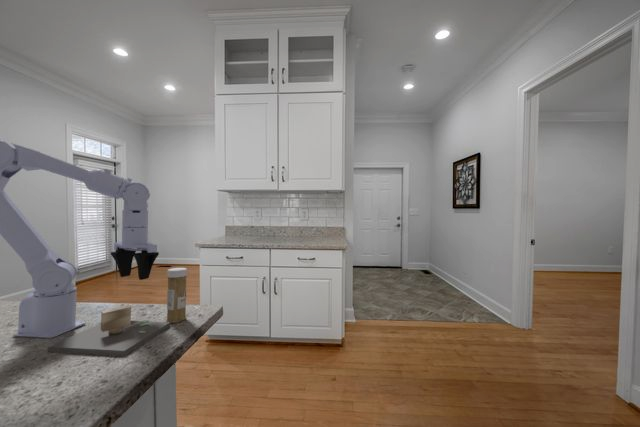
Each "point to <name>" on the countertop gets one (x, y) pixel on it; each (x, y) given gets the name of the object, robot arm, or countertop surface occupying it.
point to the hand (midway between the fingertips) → (134, 277)
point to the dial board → (109, 340)
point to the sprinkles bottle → (176, 295)
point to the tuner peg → (117, 320)
